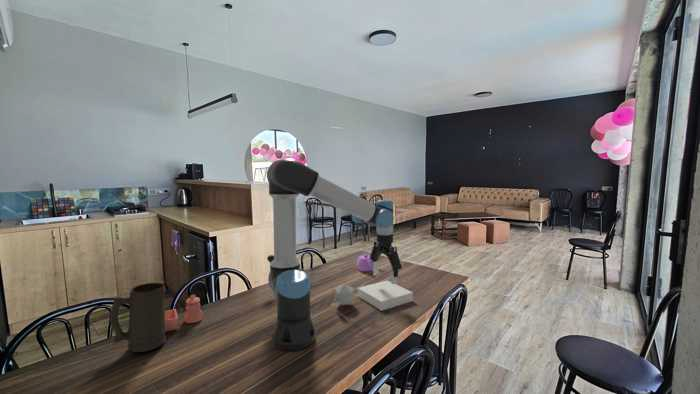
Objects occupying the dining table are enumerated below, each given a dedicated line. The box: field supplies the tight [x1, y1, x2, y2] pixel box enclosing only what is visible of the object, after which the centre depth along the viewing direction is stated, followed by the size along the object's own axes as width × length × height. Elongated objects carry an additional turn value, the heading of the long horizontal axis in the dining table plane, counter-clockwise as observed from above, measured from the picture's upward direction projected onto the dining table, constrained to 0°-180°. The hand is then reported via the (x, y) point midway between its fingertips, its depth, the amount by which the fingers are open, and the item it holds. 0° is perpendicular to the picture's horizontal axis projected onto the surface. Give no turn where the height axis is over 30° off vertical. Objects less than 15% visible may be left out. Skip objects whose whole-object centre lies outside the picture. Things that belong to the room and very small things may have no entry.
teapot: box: [356, 253, 379, 273], centre depth 177 cm, size 15×14×10 cm
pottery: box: [165, 294, 204, 333], centre depth 114 cm, size 18×10×10 cm, turn 125°
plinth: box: [357, 280, 414, 311], centre depth 137 cm, size 18×18×4 cm
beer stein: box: [108, 282, 167, 353], centre depth 99 cm, size 15×11×20 cm
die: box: [334, 283, 355, 306], centre depth 130 cm, size 8×9×10 cm
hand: (384, 279), depth 136 cm, fingers open, 13 cm apart
